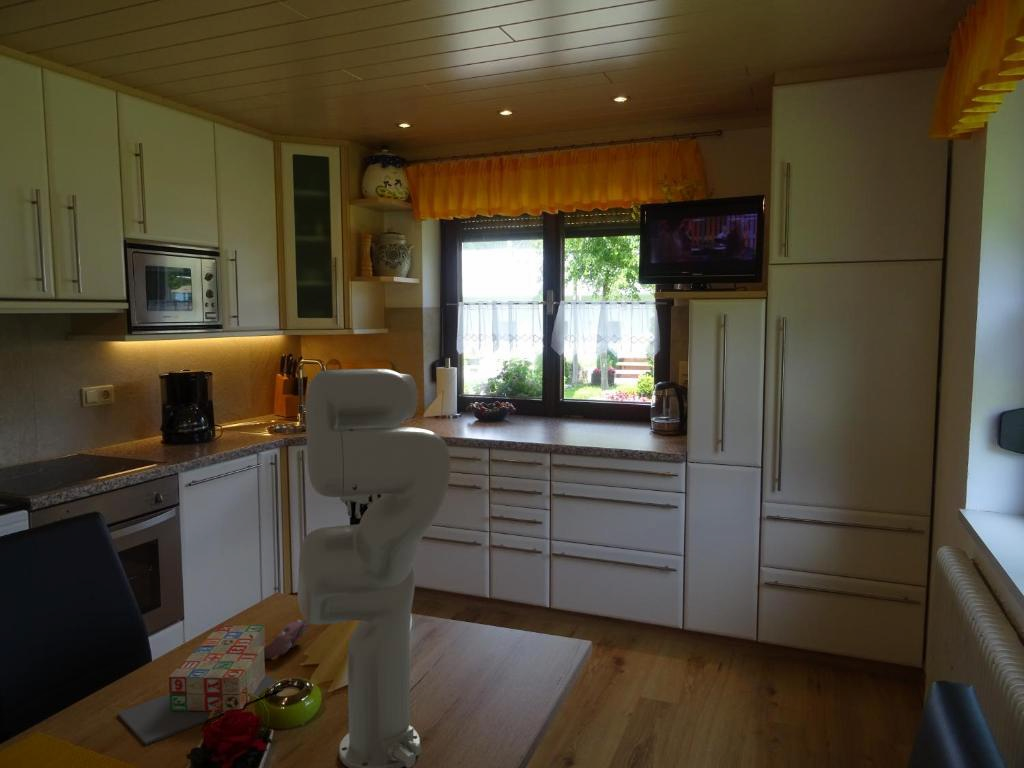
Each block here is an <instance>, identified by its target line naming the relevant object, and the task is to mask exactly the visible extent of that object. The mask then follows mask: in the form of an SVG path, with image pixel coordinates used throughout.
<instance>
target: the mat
mask: <svg viewBox="0 0 1024 768" xmlns="http://www.w3.org/2000/svg"><path fill="white" fill-rule="evenodd" d="M275 683H278V682H277V681H276V680H275V679H273V678H272V677H270V676H269V675H267V674H266V673H265V677H264V679H263V680H262V682H261V683H260V684H259V686H258V688H257V689H256V691H255V692H254V695H260V694H261V692H262V691H264V690H265V689H267V688H268V687H270V686H272V685H273V684H275ZM221 713H222V712H215V713H214V714H213V716H215V715H217V714H221ZM209 715H210V712H207V711H171V710H170V693H167V694H165V695H162V696H159V697H156V698H154V699H153V698H152V699H150V700H148V701H146V702H143V703H139V704H138V705H134V706H132V707H129V708H127V709H124V710H122V711H118V712H117V716H118V717H119V718H120V719H121V720H122V721H123V722H124V723H125V724H126V726H127V727H128V728H129V729H130V730H131V731H132V732H133V733H134V734H135V735H136V736H137V737H138V738H139V740H140V741H141V742H142V743H143V744H144V743H145V744H144V745H145V746H147V745H150V744H153V743H155V742H157V741H159V740H162V739H165V738H167V737H170V736H173V735H175V734H177V733H179V732H182V731H185V730H186V729H189V728H192V727H194V726H197V725H199V724H202V723H204V722H207V721H208V720H207V719H208V717H209ZM206 720H207V721H206ZM152 742H153V743H152ZM149 743H150V744H149Z"/></svg>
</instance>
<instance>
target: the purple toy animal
mask: <svg viewBox="0 0 1024 768" xmlns="http://www.w3.org/2000/svg"><path fill="white" fill-rule="evenodd" d="M308 628H309V624H308V622H305V621H304V620H300V619H299V618H298V619H297V620H296V621H292V622H289V623H287V624H286V625H285V626H284V627H283V629H282V630H281V631H280V632H279V633H278V635H277V636H276V637H275V638H274V639H273V640H272V641H271V642H270V643H269V644H268V645H265V648H264V660H266V659H268V660H269V659H273V658H275V657H276V656H278V655H279V654H281V655H283V656H284V654H285V653H286V654H287V653H288V651H290V648H292V649H293V648H295V647H296V646H298V645H299V641H300V639H301V638H302V637H303V636H304V635H305V633H306V632H307V630H308ZM294 646H295V647H294ZM286 654H285V655H286Z"/></svg>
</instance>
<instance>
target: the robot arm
mask: <svg viewBox="0 0 1024 768" xmlns="http://www.w3.org/2000/svg"><path fill="white" fill-rule="evenodd" d="M306 391H307V392H306V396H305V415H304V416H305V431H306V434H305V435H306V453H307V455H306V456H307V470H308V471H307V472H308V477H309V482H310V484H311V486H312V488H313V489H314V491H315V492H316V493H317V494H319V495H321V496H323V497H330V498H339V499H340V501H341V502H342V503H343V504H345V505H346V507H347V508H346V509H347V515H348V516H349V524H348V525H345V524H344V525H337V526H336V525H335V526H326V527H320V528H317V529H313V530H311V532H309V533H307V534H306V535H305V537H304V539H303V540H302V544H301V545H300V546H301V547H300V552H299V558H298V574H297V575H298V576H297V577H298V578H297V602H298V607H299V608H298V609H299V611H300V613H301V615H302V617H303V619H304V620H305V621H306V623H310V624H311V625H315V626H320V625H329V624H339V623H346V622H355V621H356V622H358V624H357V626H356V627H355V629H354V630H353V632H352V634H351V636H350V638H349V642H348V646H347V681H348V682H347V686H348V687H347V691H348V693H347V694H348V695H347V696H348V700H347V701H348V733H346V735H345V736H344V737H343V738H342V740H341V741H340V742H339V747H338V755H339V759H340V762H341V763H342V764H343V765H344V766H345V767H347V768H403V767H406V768H411V767H412V766H414V764H415V762H416V759H417V756H419V755H420V754H421V753H422V752H423V746H422V745H421V739H420V735H419V733H418V732H417V731H416V729H414V727H413V726H411V679H410V678H411V671H410V670H411V669H410V668H411V666H410V665H411V661H410V659H411V657H410V656H411V655H410V652H411V651H410V650H411V649H410V648H411V647H410V646H411V645H410V643H411V642H410V641H411V640H410V636H411V632H410V631H411V617H412V616H411V615H412V607H413V601H414V595H415V589H416V588H415V586H416V578H415V577H416V574H415V570H414V567H413V565H414V563H415V561H416V557H417V554H418V551H419V548H420V544H421V541H422V538H424V536H425V534H426V533H427V532H428V531H429V529H430V528H431V526H432V525H433V523H434V522H435V521H436V519H437V518H438V517H439V514H440V512H441V511H442V508H443V505H444V503H445V500H446V497H447V493H448V489H449V484H450V477H451V476H450V475H451V456H450V451H449V448H448V446H447V444H446V441H445V440H444V439H443V438H442V437H441V436H440V435H439V434H438V433H435V432H434V431H431V430H428V429H425V428H420V427H412V426H399V425H401V423H403V422H404V421H406V420H410V419H411V418H413V417H414V415H415V414H416V411H417V408H418V402H419V401H418V399H419V394H418V393H419V392H418V388H417V385H416V381H415V380H414V377H413V376H412V375H411V374H408V373H407V374H406V373H399V372H397V371H395V370H392V369H388V368H363V369H362V368H360V369H359V368H356V369H355V368H351V369H325V370H322V371H320V372H317V373H316V374H314V376H313V377H312V378H311V380H310V383H309V385H308V388H307V390H306Z"/></svg>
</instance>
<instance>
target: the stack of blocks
mask: <svg viewBox="0 0 1024 768" xmlns="http://www.w3.org/2000/svg"><path fill="white" fill-rule="evenodd" d="M265 629H266V628H265V624H250V625H219V626H218V627H217V628H216V629H215V630H214V631H212V633H210V635H208V636H207V638H206V639H204V640H203V641H202V643H201V644H200V645H199V646H198V647H197V648H196V649H195V650H194V651H193V652H192V654H190V655H189V657H187V658H186V660H184V661H183V662H182V663H181V664H180V665H178V667H177V668H176V669H175V670H174V671H173V672H172V673H171V674H170V675H169V676H168V686H169V687H168V688H169V689H168V690H169V692H168V694H170V710H171V711H207V712H212V710H213V709H214V708H215V707H216V706H217V709H216V710H215V712H224V711H226V710H230V709H242V710H243V709H244V707H245V706H246V705H247V704H246V702H248V701H249V699H250V697H249V696H248V695H246V694H244V693H241V692H247V693H251V694H254V692H255V691H256V689H257V688H258V686H259V684H260V683H261V682H262V680H263V679H264V677H265V674H266V668H265V666H266V664H265V658H264V648H265V647H266V632H265ZM230 694H231V695H230ZM228 695H230V696H229V697H227V698H226V699H225V697H226V696H228ZM224 699H225V700H224ZM223 700H224V701H223ZM221 701H223V702H222V703H221V704H220V705H219V706H218V704H219V703H220V702H221ZM245 704H246V705H245ZM244 705H245V706H244Z"/></svg>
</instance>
